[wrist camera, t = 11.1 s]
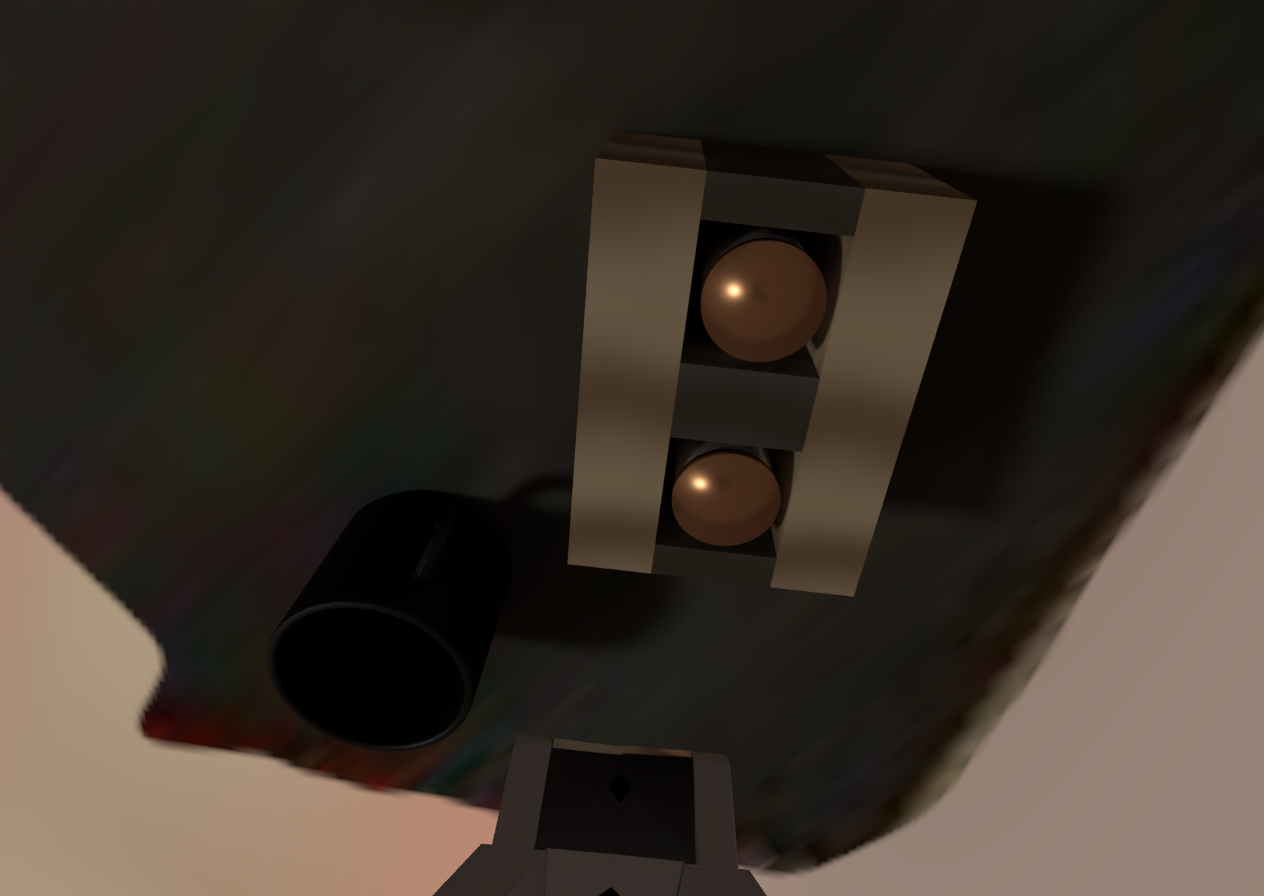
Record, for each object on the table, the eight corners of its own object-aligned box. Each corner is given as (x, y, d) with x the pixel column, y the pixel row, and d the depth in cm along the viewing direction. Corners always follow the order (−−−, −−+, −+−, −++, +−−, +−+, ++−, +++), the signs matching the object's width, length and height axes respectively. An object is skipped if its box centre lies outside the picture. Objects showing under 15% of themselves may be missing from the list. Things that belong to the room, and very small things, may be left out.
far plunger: (679, 371, 34) (679, 449, 28) (769, 381, 34) (790, 461, 28) (668, 449, 36) (665, 539, 30) (753, 459, 36) (769, 551, 30)
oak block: (615, 130, 30) (595, 157, 23) (908, 163, 30) (977, 200, 23) (588, 467, 38) (567, 563, 31) (821, 493, 38) (853, 596, 31)
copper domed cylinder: (704, 192, 31) (710, 234, 24) (805, 203, 31) (839, 248, 24) (690, 291, 33) (692, 355, 26) (785, 302, 33) (812, 368, 26)
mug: (560, 500, 39) (529, 617, 31) (474, 646, 44) (430, 777, 37) (391, 421, 37) (314, 524, 29) (324, 583, 43) (243, 706, 35)
